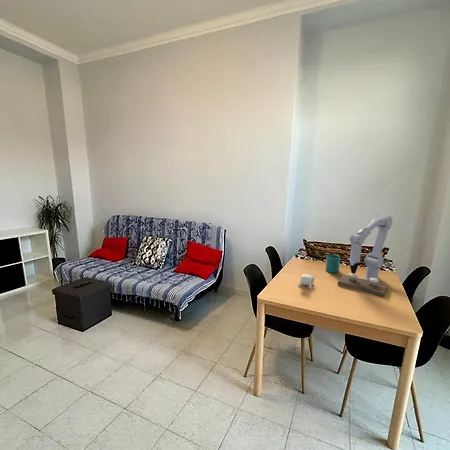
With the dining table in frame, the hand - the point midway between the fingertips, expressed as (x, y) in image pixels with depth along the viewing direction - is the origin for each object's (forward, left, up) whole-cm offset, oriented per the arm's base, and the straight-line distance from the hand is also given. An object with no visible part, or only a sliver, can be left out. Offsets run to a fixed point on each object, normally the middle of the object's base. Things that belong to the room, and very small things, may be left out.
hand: (353, 273), depth 172 cm
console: (0, +6, -8) cm, 10 cm away
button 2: (0, +12, -5) cm, 13 cm away
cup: (-18, -18, -8) cm, 27 cm away
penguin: (+22, -22, -8) cm, 32 cm away
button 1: (0, 0, -5) cm, 5 cm away
